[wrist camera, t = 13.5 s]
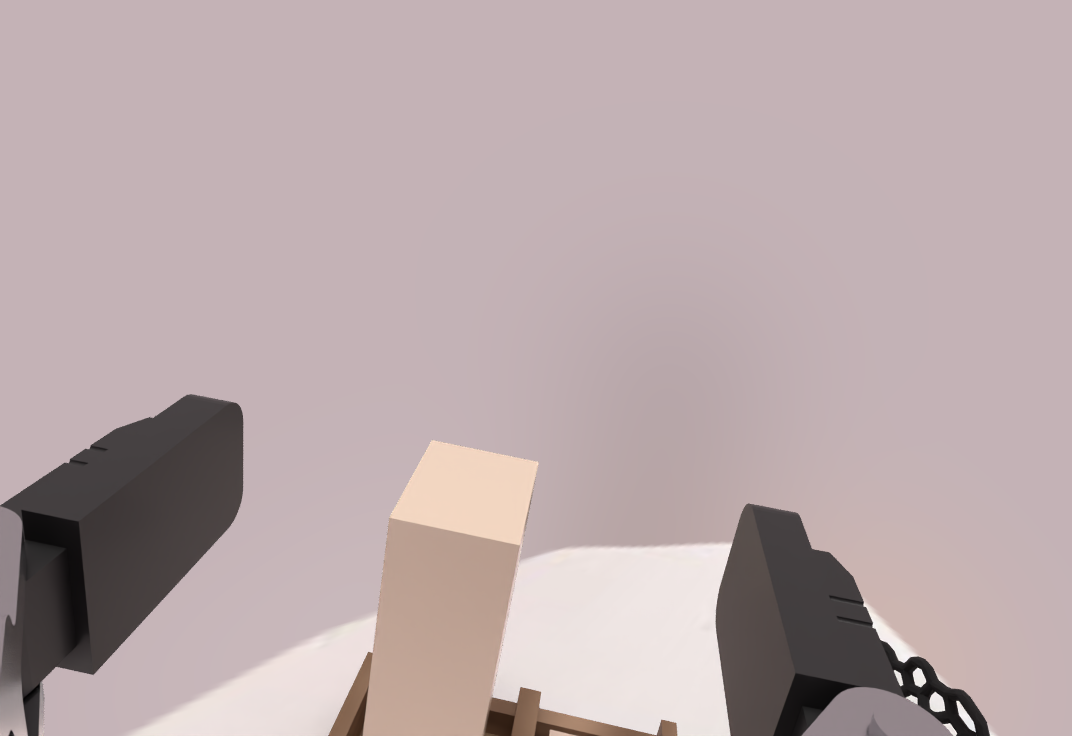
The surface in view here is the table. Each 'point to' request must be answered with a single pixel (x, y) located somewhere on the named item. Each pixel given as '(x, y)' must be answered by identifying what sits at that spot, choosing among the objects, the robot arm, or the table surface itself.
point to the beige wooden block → (447, 592)
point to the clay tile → (558, 733)
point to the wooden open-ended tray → (493, 716)
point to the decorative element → (936, 686)
